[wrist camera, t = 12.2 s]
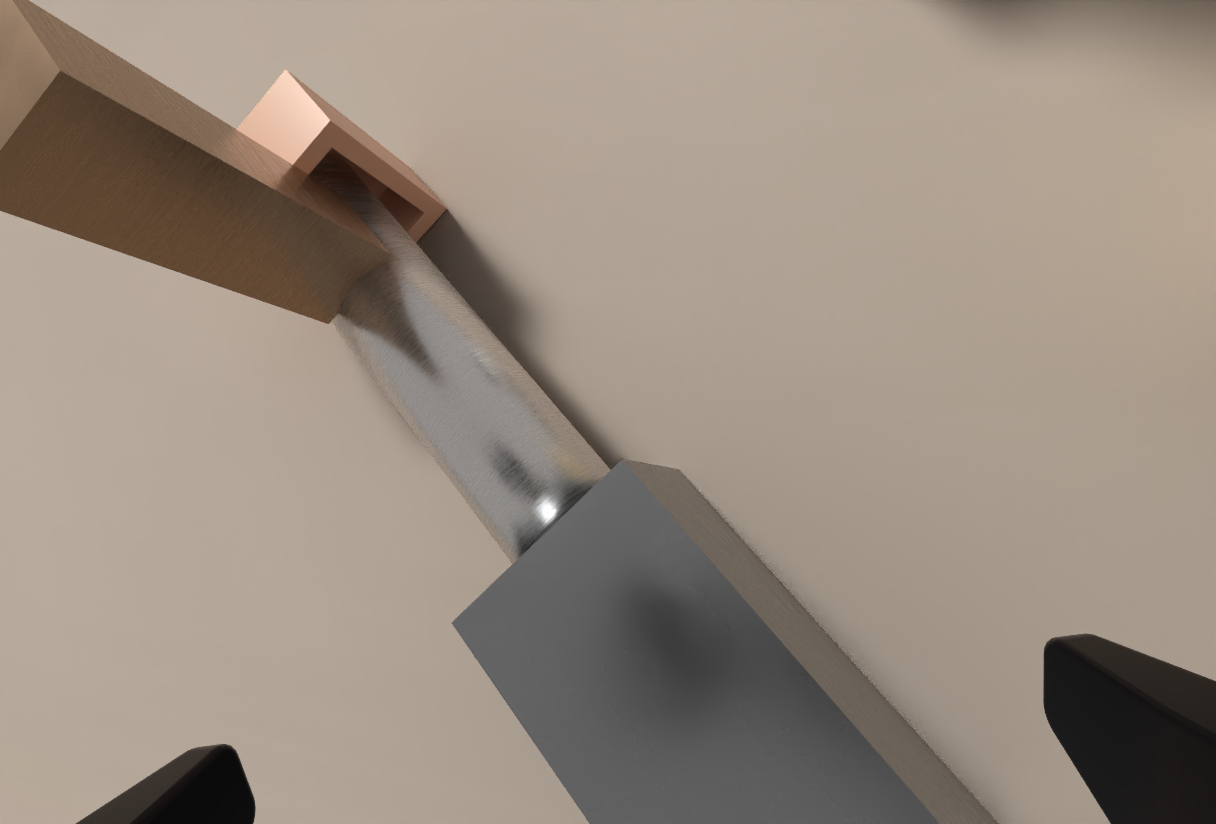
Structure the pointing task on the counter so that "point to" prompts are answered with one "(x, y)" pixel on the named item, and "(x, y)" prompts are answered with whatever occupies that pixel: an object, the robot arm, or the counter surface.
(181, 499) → the counter surface
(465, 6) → the counter surface
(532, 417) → the brown and silver piece
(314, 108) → the socket block
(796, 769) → the steel block
